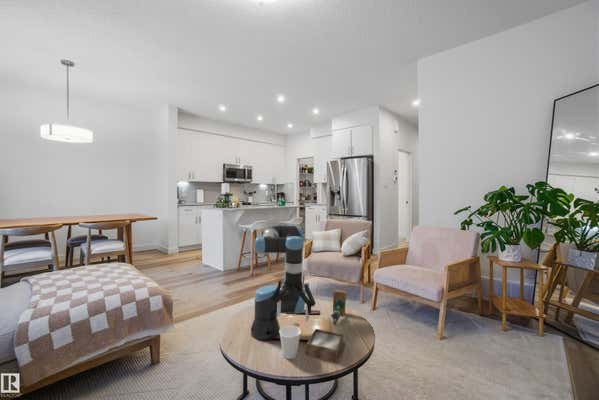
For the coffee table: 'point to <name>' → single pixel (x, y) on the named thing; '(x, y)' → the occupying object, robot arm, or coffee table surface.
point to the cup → (289, 341)
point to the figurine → (338, 304)
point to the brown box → (325, 345)
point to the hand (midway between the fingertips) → (292, 317)
